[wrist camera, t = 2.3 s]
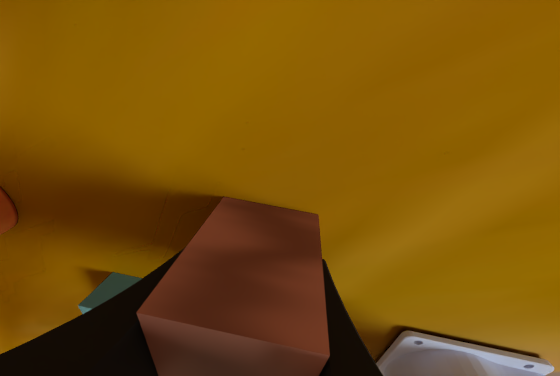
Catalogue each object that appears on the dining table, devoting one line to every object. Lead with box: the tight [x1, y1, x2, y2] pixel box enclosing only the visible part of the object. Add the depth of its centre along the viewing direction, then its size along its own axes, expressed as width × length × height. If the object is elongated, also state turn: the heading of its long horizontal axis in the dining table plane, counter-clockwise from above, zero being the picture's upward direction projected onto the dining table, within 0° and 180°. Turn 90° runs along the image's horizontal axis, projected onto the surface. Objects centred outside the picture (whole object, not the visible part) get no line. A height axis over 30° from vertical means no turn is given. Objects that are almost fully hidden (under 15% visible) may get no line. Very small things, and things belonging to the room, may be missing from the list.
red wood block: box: [136, 197, 330, 376], centre depth 9 cm, size 5×5×6 cm
